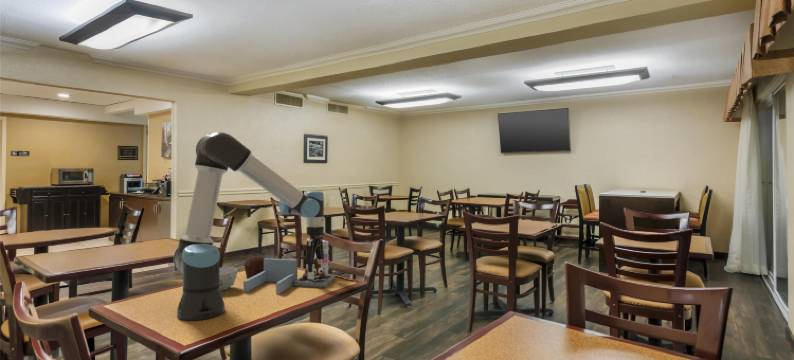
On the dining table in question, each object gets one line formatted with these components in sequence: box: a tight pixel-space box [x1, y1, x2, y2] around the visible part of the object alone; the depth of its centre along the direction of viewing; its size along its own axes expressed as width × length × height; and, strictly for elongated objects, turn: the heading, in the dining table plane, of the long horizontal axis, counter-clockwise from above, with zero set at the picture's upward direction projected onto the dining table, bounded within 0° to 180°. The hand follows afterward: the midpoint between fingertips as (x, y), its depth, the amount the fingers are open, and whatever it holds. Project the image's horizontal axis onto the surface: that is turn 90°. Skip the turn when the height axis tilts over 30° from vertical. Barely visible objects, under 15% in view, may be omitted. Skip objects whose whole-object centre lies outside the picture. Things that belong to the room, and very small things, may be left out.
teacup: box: [219, 266, 238, 292], centre depth 177 cm, size 15×12×8 cm
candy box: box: [306, 237, 330, 275], centre depth 206 cm, size 14×6×16 cm, turn 34°
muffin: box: [243, 254, 266, 280], centre depth 197 cm, size 12×11×10 cm
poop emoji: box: [302, 258, 325, 281], centre depth 188 cm, size 10×8×9 cm
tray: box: [293, 274, 336, 289], centre depth 188 cm, size 14×14×2 cm
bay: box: [243, 257, 298, 295], centre depth 182 cm, size 19×15×10 cm
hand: (314, 276), depth 188 cm, fingers closed on poop emoji, 9 cm apart
